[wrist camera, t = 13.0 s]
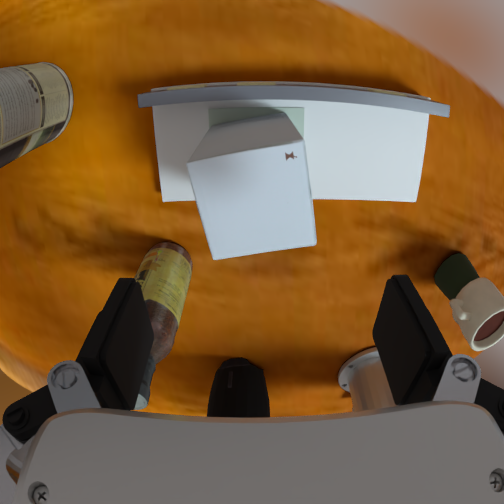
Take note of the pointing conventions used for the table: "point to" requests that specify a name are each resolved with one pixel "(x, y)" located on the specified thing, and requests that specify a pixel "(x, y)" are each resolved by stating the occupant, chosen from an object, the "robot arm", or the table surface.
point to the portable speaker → (239, 391)
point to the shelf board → (307, 143)
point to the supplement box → (253, 187)
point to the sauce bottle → (162, 302)
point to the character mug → (472, 302)
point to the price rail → (290, 96)
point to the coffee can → (32, 107)
